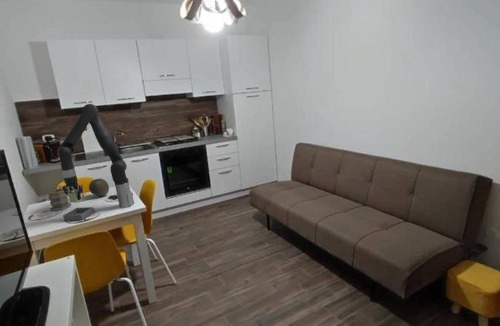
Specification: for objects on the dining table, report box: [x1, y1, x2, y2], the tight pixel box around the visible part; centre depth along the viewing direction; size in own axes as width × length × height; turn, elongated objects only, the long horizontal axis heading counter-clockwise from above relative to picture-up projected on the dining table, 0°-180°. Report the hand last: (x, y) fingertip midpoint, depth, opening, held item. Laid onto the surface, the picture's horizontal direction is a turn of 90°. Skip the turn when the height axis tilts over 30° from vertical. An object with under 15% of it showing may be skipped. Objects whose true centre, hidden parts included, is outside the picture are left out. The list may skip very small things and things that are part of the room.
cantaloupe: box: [88, 178, 110, 197], centre depth 246 cm, size 14×14×15 cm
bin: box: [62, 206, 95, 222], centre depth 207 cm, size 13×13×4 cm
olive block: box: [67, 191, 82, 203], centre depth 204 cm, size 5×5×6 cm
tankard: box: [47, 185, 72, 212], centre depth 231 cm, size 20×13×15 cm, turn 18°
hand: (75, 199), depth 204 cm, fingers closed on olive block, 5 cm apart
